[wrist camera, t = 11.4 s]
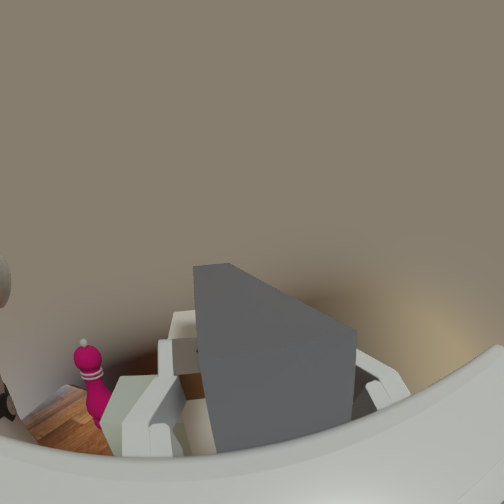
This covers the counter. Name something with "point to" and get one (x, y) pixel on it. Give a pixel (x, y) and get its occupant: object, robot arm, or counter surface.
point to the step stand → (190, 420)
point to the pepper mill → (92, 380)
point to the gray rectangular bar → (268, 361)
